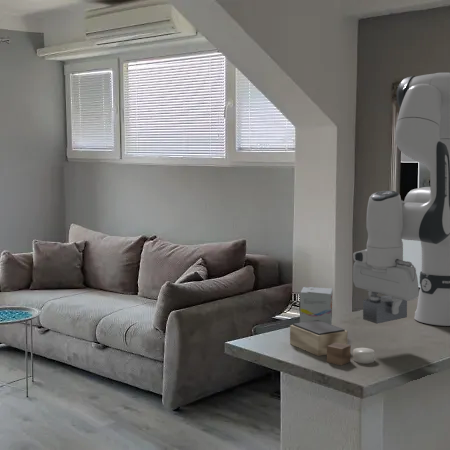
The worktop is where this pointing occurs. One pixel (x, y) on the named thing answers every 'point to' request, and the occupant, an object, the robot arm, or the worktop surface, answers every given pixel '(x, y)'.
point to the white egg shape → (363, 355)
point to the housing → (382, 309)
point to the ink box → (316, 304)
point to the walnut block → (338, 353)
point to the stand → (316, 336)
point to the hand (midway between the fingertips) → (384, 310)
